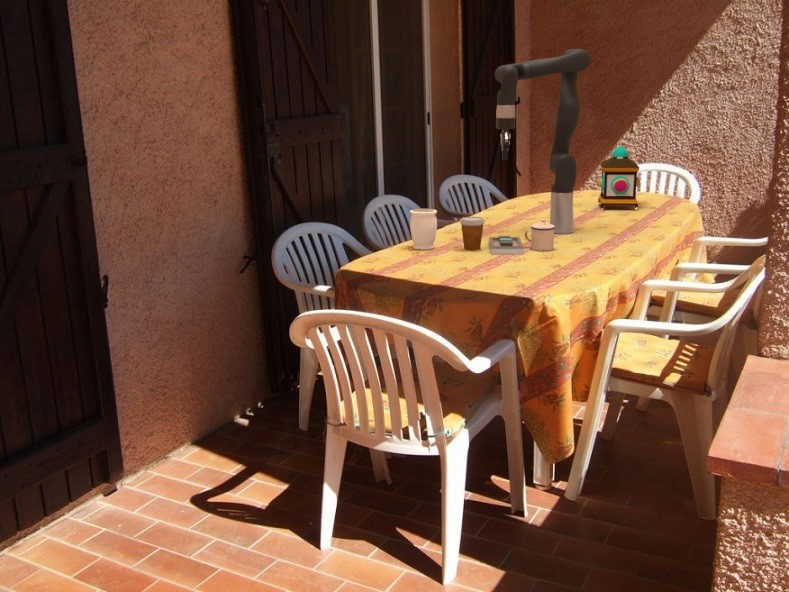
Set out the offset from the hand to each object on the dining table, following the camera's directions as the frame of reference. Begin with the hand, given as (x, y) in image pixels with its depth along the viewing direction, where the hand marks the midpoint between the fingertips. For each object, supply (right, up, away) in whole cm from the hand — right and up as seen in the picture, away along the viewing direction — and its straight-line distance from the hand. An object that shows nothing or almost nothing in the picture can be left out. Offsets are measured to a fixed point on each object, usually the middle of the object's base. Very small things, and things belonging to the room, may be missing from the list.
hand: (504, 159), depth 358 cm
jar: (-33, -37, -10) cm, 51 cm away
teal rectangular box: (-2, -34, -16) cm, 38 cm away
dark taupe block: (-2, -35, -20) cm, 41 cm away
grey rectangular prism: (-1, -33, -11) cm, 35 cm away
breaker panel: (-2, -37, -15) cm, 40 cm away
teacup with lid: (+11, -37, -14) cm, 41 cm away
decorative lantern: (+65, -12, +74) cm, 99 cm away
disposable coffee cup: (-15, -37, -13) cm, 42 cm away
